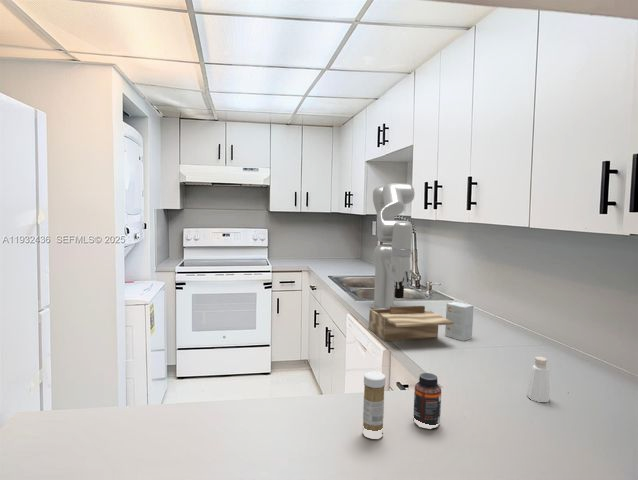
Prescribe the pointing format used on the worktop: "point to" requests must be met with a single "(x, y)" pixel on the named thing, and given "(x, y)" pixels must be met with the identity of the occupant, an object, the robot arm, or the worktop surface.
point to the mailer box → (398, 328)
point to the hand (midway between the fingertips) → (398, 297)
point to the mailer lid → (413, 317)
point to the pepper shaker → (539, 381)
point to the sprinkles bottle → (373, 401)
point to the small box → (459, 321)
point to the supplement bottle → (427, 399)
